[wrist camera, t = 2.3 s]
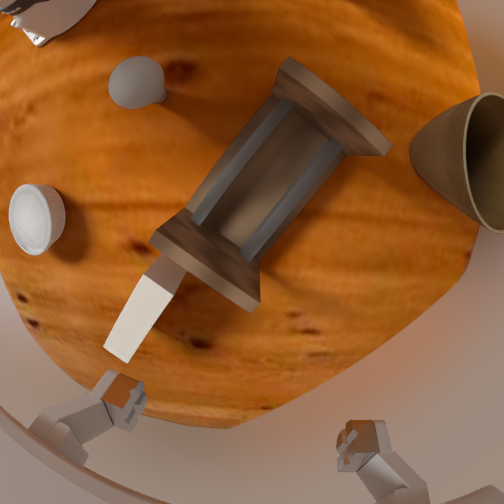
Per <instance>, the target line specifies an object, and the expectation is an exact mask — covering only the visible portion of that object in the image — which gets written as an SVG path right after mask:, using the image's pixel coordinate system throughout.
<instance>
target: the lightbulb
mask: <svg viewBox="0 0 504 504" xmlns="http://www.w3.org/2000/svg"><path fill="white" fill-rule="evenodd" d="M108 89H109V93H110V96H111V98H112V99H113V101H114V102H115V103H116V104H118V105H119V106H121V107H123V108H127V109H138V108H142V107H145V106H147V105H149V104H151V103H161V102H162V101H164V99H165V98H166V96H167V91H166V89H165V87H164V73H163V70H162V68H161V66H160V65H159V64H158V63H157V62H156V61H155V60H154V59H152V58H149V57H145V56H134V57H131V58H128V59H126V60H124V61H123V62H121V63H120V64H119V65H118V66H117V67H116V68H115V69H114V70H113V72H112V74H111V76H110V79H109V84H108Z"/></svg>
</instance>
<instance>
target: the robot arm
mask: <svg viewBox="0 0 504 504" xmlns="http://www.w3.org/2000/svg"><path fill="white" fill-rule="evenodd" d="M96 1H97V0H0V11H2V12H3V13H5V14H10V15H12V16H13V17H14V20H13V21H12V23H11V25H12V26H13V27H15V28H18V29H20V28H22V29H23V31H24V32H25V33H26V35H27V36H28V37H29V38H30V40H31V41H32V42H33V43H34V45H36V46H37V47H40V46H42V45H43V44H45V43H46V42H47V41H48V40H49V39H50V38H52V37H54V36H57V35H59V34H61V33H63V32H65V31H66V30H68V29H69V28H71V27H72V26H73V25H75V24H76V23H77V22H78V21H79V20H80V19H81V18H83V17H84V15H85V14H86V13H87V12H88V11H89V10H90V9H91V8H92V6H93V5H94V4H95V2H96ZM143 389H144V383H143V382H142V381H140V380H137V379H134V378H132V377H129V376H126V375H124V374H121V373H119V372H117V371H114V370H112V369H109V370H108V371H106V373H105V374H104V375H103V377H102V378H101V379H100V381H99V382H98V383H97V385H96V386H95V387H94V389H93V390H92V392H91V393H90V394H87V393H86V394H83V395H81V396H78V397H76V398H73V399H70V400H67V401H65V402H62V403H59V404H57V405H54V406H51V407H48V408H45V409H43V411H42V412H41V413H40V414H39V416H38V417H37V418H36V419H35V421H34V422H33V423H32V425H31V426H30V427H29V429H27V428H26V427H24V426H23V425H22V424H21V423H20V422H18V421H17V420H16V419H15V418H14V417H12V416H11V415H10V414H9V413H8V412H6V410H4V409H3V408H2V407H1V406H0V504H170V503H167V502H164V501H160V500H158V499H155V498H152V497H149V496H147V495H144V494H141V493H139V492H136V491H134V490H132V489H129V488H127V487H124V486H122V485H120V484H118V483H116V482H113V481H111V480H109V479H107V478H105V477H103V476H101V475H99V474H97V473H95V472H93V471H91V470H90V469H88V468H86V467H84V466H83V465H84V463H85V462H86V460H87V458H88V453H87V452H86V450H85V449H84V448H83V446H82V444H84V443H86V442H88V441H89V440H91V439H93V438H94V437H97V436H98V435H100V434H102V433H103V432H105V431H107V430H109V429H110V428H112V427H114V426H116V427H119V428H121V429H124V430H126V431H129V432H132V431H133V429H134V427H135V425H136V424H137V422H138V420H137V416H138V415H140V414H142V412H143V411H144V409H145V405H146V400H147V397H146V393H145V392H144V391H143ZM113 425H114V426H113ZM336 445H337V446H336V447H337V451H338V452H339V454H340V456H339V457H338V459H337V464H338V472H357V474H358V476H359V477H360V479H361V480H362V482H363V483H364V484H365V485H366V487H367V489H368V490H369V491H370V493H371V494H372V495H373V497H374V498H375V500H376V501H377V502H376V503H374V504H430V499H429V494H428V489H427V483H426V482H425V481H424V480H423V479H422V478H421V477H420V476H419V475H418V474H417V473H416V472H415V471H414V470H413V469H412V468H411V467H410V466H409V465H408V464H407V463H406V462H405V461H404V460H403V459H402V458H401V457H400V456H399V455H398V454H397V453H396V452H392V449H391V444H390V440H389V436H388V431H387V426H386V422H385V421H384V420H350V421H348V422H347V423H346V428H345V429H343V430H342V431H341V432H340V433H339V435H338V438H337V444H336ZM442 504H504V493H503V492H501V491H500V490H499V489H498V488H496V487H494V486H493V485H488V486H485V487H482V488H480V489H478V490H476V491H474V492H471V493H469V494H466V495H464V496H461V497H459V498H456V499H453V500H451V501H448V502H445V503H442Z"/></svg>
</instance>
